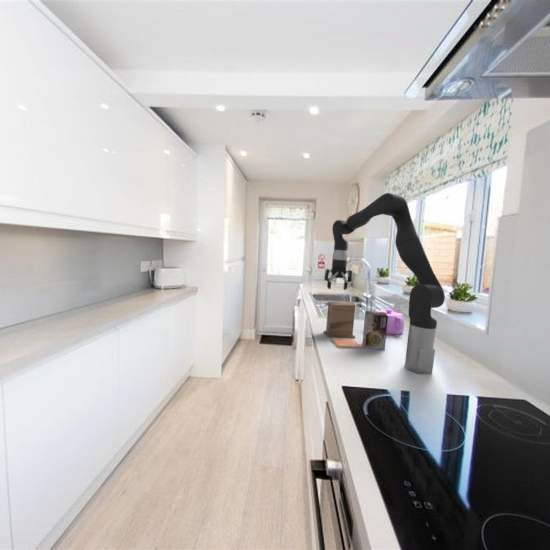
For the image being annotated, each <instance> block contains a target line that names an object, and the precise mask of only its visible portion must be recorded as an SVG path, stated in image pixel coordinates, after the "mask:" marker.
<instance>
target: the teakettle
mask: <svg viewBox="0 0 550 550" xmlns="http://www.w3.org/2000/svg"><path fill="white" fill-rule="evenodd" d="M373 312H385V313H386V314H387V315H388V320H387V331H386V336H393V335H403V334H404V329H405V322H404V321H405V318H404V314H403V313H400V312H399V313H398V312H396V311H393V309H391V308H387V309H386V310H373Z"/></svg>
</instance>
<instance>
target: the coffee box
mask: <svg viewBox="0 0 550 550" xmlns="http://www.w3.org/2000/svg"><path fill="white" fill-rule="evenodd" d="M387 320H388V315H387V314H386V313H385V312H374V310H373V311H372V310H365V312H364V322H363V332H362V333H363V334H362V347H363V348H364V347H365V348H364V349H370V348H371V349H373V350H383V351H384V350H386V342H387V341H386V340H387V339H386V338H387V335H386V331H387ZM371 349H370V350H371Z"/></svg>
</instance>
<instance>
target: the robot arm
mask: <svg viewBox="0 0 550 550" xmlns="http://www.w3.org/2000/svg"><path fill="white" fill-rule="evenodd" d="M380 215H385V216H390V217H392V218H393V220H394V223H395V225H396V235H395V248H396V250H397V253H398V255H399V258H400V259H401V261H402V262H403V263H404V265H405V266H406V267H407V268H408V269H409V271H411V272H412V273H413V275H414V276H415V278H416V280H417V281H418V284H416V285H414V286H413V287H412V288H411V290H410V292H409V298H408V299H409V300H408V301H409V302H408V318H409V325H408V326H409V328H408V334H407V342H406V350H405V351H406V353H405V359H404V361H405V362H404V367H405V368H406V369H407V370H409V371H412V372H414V373H416V374H432V375H433V370H434V369H433V368H434V362H435V361H434V360H435V355H436V354H435V353H436V349H435V341H436V333H437V325H438V324H437V323H438V321H437V319H435V318H433V317H432V309H437V308H440V307H441V306H443V304H444V303H445V300H446V299H445V298H446V296H445V291H444V289H443V287H442V285H441V283H440V281H439V279H438V278H437V276H436V274H435V272H434V270H433V268H432V266H431V264H430V262H429V259H428V257H427V254H426V252H425V250H424V249H425V248H424V246H423V243H422V242H421V239H420V237H419V235H418V232H417V230H416V227H415V225H414V222H413V219H412V217H411V213H410V209H409V206H408V202H407V200H406V198H405V197H404V196H402V195H401V194H396V193H392V192H386V193H384V194H382V195H380V196H379V197H378V198H376V199H374V201H372V202H371V203H369V205H366V207H364V208H363V209H362V210H360V211H357V212H355V213H353V214H351V215H350V216H348V217H347V218H346V220H341V219H338V220H335V221H334V222H333V224H332V226H331V227H332V228H331V229H332V236H333V241H334V243H333V245H334V246H333V252H332V262H331V269H328V268H326V269H325V271H324V278H323V279H324V281H327V285H326V286H327V288H328V290H331V286H332V281H333V280H334V279H338V278H339V279H341V280H343V281H344V282H343V290H347V289H348V283H351V282H352V280H353V279H352V277H353V270H349V269H348V270H347V266H348V265H347V263H348V249H349V248H348V247H349V246H348V245H349V240H348V239H345V238H344V236H343V235H350V234H352V233H353V232H354V231H356V230H357V229H359V228H362V227H363V226H366V225H367V224H368V223H369V222H371V221H370V220H371V219H373V218H374V217H377V216H380ZM330 273H331V275H330V276H329V274H330ZM346 274H347V277H346Z"/></svg>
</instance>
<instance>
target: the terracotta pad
mask: <svg viewBox="0 0 550 550" xmlns="http://www.w3.org/2000/svg"><path fill="white" fill-rule="evenodd" d="M330 340H331V342H333V343H335V344H336V345H335V344H334V345H335V346H336V347H337V348H339V349H363V345H361V344H360V343H358V342H357V341H356V340H355V338H330Z"/></svg>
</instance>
